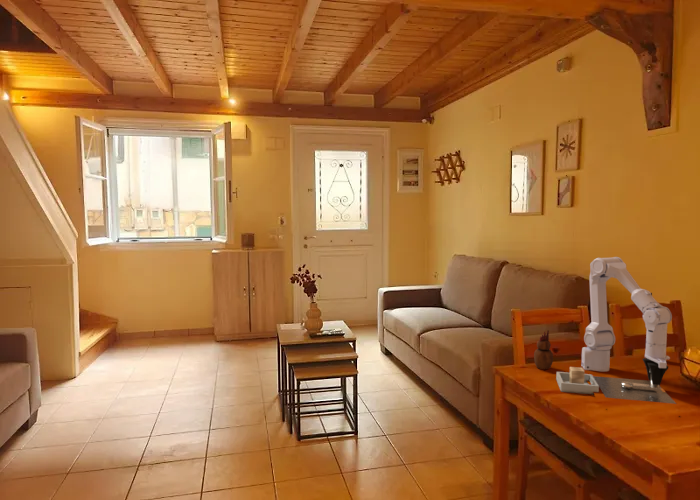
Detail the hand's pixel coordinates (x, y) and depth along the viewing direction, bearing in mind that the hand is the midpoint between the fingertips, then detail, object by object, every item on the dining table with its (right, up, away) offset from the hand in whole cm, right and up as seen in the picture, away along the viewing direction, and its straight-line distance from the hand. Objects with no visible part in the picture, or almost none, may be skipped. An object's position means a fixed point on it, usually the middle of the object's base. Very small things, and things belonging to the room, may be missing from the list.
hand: (654, 382), depth 159 cm
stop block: (-23, -3, +6) cm, 24 cm away
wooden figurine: (-27, -2, +26) cm, 37 cm away
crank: (-4, -2, +1) cm, 4 cm away
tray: (-23, -3, +6) cm, 24 cm away
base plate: (-7, -4, +1) cm, 8 cm away
